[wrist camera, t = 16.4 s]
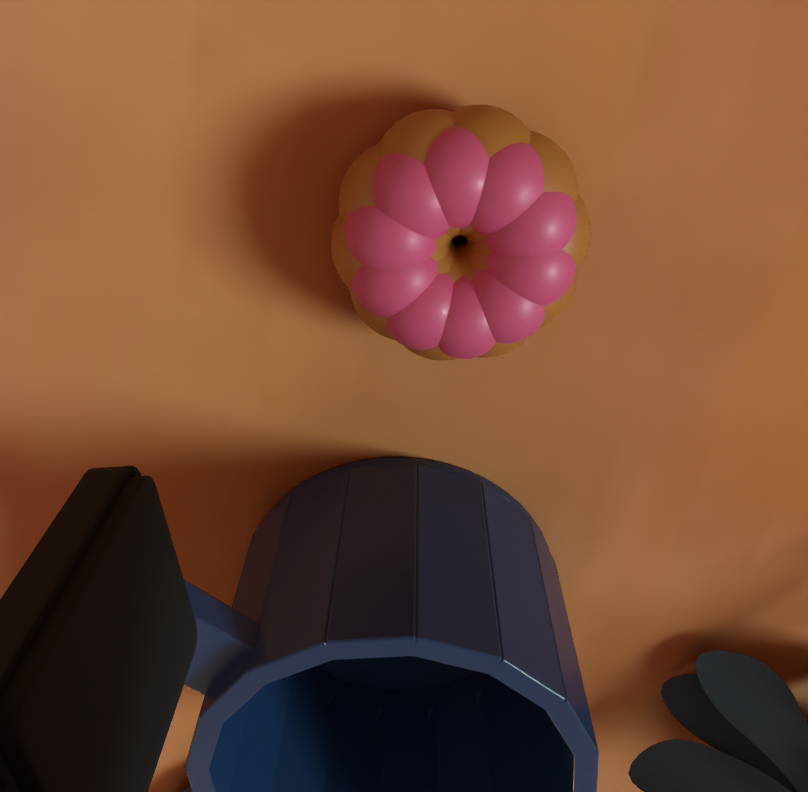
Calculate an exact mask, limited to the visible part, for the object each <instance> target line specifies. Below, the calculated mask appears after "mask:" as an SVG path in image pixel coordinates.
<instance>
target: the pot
mask: <svg viewBox="0 0 808 792" xmlns="http://www.w3.org/2000/svg"><path fill="white" fill-rule="evenodd" d="M184 583H185V586H186V589H187V593H188V596H189V599H190V603H191V606H192V610H193V613H194V616H195V620H196V624H197V645H196V649H195V653H194V656H193V659H192V662H191V665H190V668H189V671H188V674H187V677H186V680H185V683H184V684H185V685H187V686H188V687H190V688H192V689H194V690H196V691H198V692H199V693H201V694H203V695H205V697H204V700H203V704H202V707H201V710H200V714H199V717H198V721H197V724H196V728H195V731H194V735H193V739H192V742H191V746H190V750H189V753H188V757H187V760H186V764H185V771H186V774H187V777H188V780H189V782H190V785H191V788H192V791H193V792H597V775H598V754H599V752H598V748H597V743H596V739H595V734H594V730H593V726H592V721H591V717H590V713H589V708H588V704H587V699H586V695H585V691H584V686H583V682H582V678H581V673H580V669H579V664H578V660H577V656H576V651H575V647H574V643H573V638H572V634H571V629H570V625H569V621H568V616H567V612H566V608H565V603H564V599H563V594H562V590H561V586H560V581H559V577H558V572H557V568H556V564H555V561H554V559H553V557H552V555H551V553H550V552H549V548H548V545H547V543H546V541H545V539H544V536H543V534H542V532H541V530H540V529H539V527H538V526H537V524H536V523H535V521H534V519H533V518H532V517H531V515H530V514H529V513H528V512H527V511H526V510H525V509H524V508H523V506H522V505H521V504H520V503H519V502H518V501H516V500H515V499H514V498H513V497H512V496H510V495H509V494H508V493H507V492H506V491H504V490H503V489H501V488H500V487H498V486H497V485H495V484H494V483H492V482H490V481H489V480H487V479H485V478H483V477H481V476H479V475H477V474H474V473H472V472H470V471H468V470H465V469H462V468H459V467H456V466H453V465H450V464H446V463H441V462H437V461H432V460H427V459H417V458H407V457H394V458H376V459H368V460H361V461H357V462H353V463H348V464H344V465H341V466H338V467H335V468H332V469H330V470H327V471H324V472H322V473H320V474H318V475H316V476H314V477H312V478H310V479H308V480H306V481H304V482H303V483H301V484H300V485H298V486H297V487H296V488H294V489H293V490H291V491H290V492H288V493H287V494H286V495H285V496H284V497H283V498H282V499H281V500H280V501H278V502H277V503H276V504H275V505H274V506H273V508H272V509H271V510H270V511H269V513H268V514H267V515H266V516H265V518H264V519H263V521H262V522H261V524H260V526H259V528H258V529H257V530H256V531H255V533H254V534H253V537H252V540H251V544H250V547H249V550H248V554H247V557H246V560H245V564H244V567H243V570H242V574H241V577H240V580H239V584H238V587H237V590H236V594H235V597H234V600H233V604H232V607H230V606H228V605H226V604H225V603H223V602H221V601H220V600H218V599H216V598H215V597H213V596H211V595H210V594H208V593H206V592H204V591H203V590H201V589H199V588H198V587H196V586H194V585H193V584H191V583H189V582H187V581H186V580H184Z"/></svg>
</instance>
